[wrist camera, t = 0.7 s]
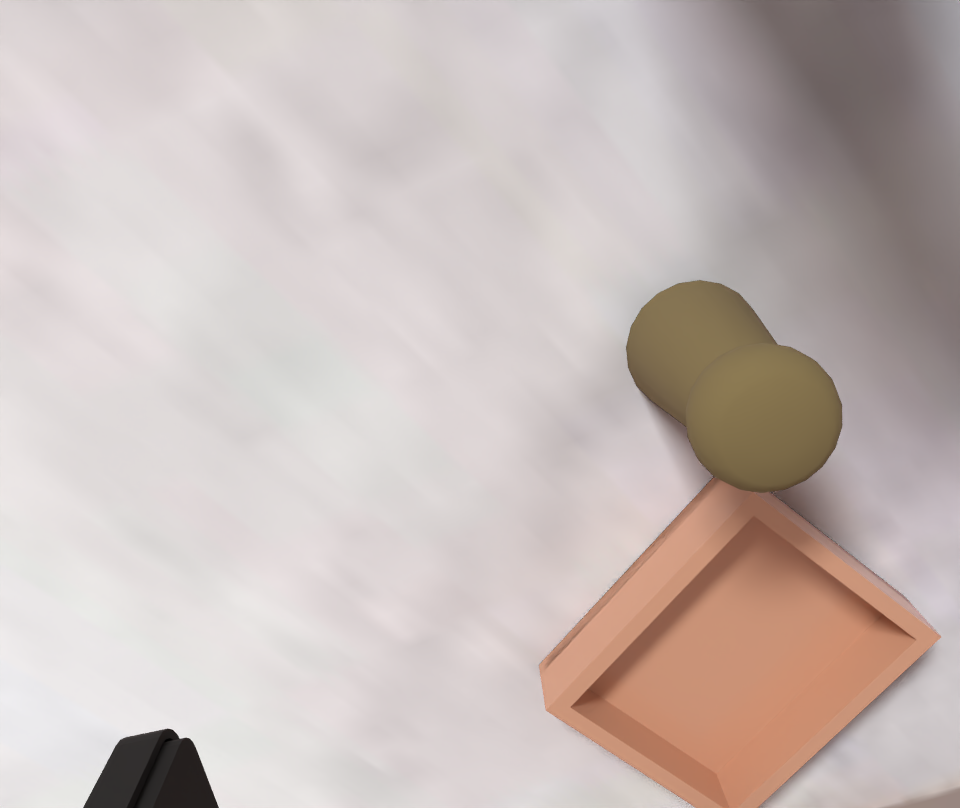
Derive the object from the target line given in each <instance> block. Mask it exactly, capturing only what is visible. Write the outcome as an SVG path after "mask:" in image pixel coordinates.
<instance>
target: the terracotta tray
mask: <svg viewBox="0 0 960 808" xmlns="http://www.w3.org/2000/svg"><path fill="white" fill-rule="evenodd" d="M940 638H941V636H940V635H939V634H938V633H937V632H936V630H935V629H934V628H933V627H932V626H931V625H930V624H929V623H928V622H927V621H926V619H925V618H924V617H923V616H922V615H921V614H920V613H919V612H918V611H917V610H916V608H915V607H914V606H913V605H912V604H911V603H910V602H909V601H908V600H907V599H906V597H905V596H903V595H902V594H901V593H900V592H898V591H897V590H896V589H894V588H893V587H892V586H891V585H889V584H888V583H887V582H885V581H884V580H883V579H881V578H880V577H879V576H878V575H876V574H875V573H874V572H872V571H871V570H870V569H869V568H867V567H866V566H865V565H863V564H862V563H861V562H860V561H858V560H857V559H856V558H854V557H853V556H852V555H851V554H849V553H848V552H847V551H845V550H844V549H843V548H841V547H840V546H839V545H838V544H836V543H835V542H834V541H832V540H831V539H830V538H829V537H827V536H826V535H825V534H823V533H822V532H821V531H820V530H818V529H817V528H816V527H814V526H813V525H812V524H811V523H809V522H808V521H807V520H805V519H804V518H803V517H802V516H800V515H799V514H798V513H796V512H795V511H794V510H792V509H791V508H790V507H789V506H787V505H786V504H785V503H783V502H782V501H781V500H780V499H778V498H777V497H776V496H774V495H773V494H772V493H771V492H766V493H758V492H751V491H745V490H740V489H738V488H736V487H734V486H732V485H730V484H728V483H726V482H723V481H721V480H720V479H718V478H716V477H713V478H712V479H711V481H710V482H709V483H708V484H707V485H706V486H705V487H704V488H703V489H702V490H701V491H700V492H699V493H698V495H697V496H696V497H695V498H694V499H693V500H692V501H691V502H690V503H689V504H688V505H687V506H686V507H685V509H684V510H683V511H682V512H681V513H680V514H679V515H678V516H677V517H676V518H675V519H674V520H673V521H672V522H671V524H670V525H669V526H668V527H667V528H666V529H665V530H664V531H663V532H662V533H661V534H660V535H659V536H658V538H657V539H656V540H655V541H654V542H653V543H652V544H651V545H650V546H649V547H648V548H647V549H646V550H645V552H644V553H643V554H642V555H641V556H640V557H639V558H638V559H637V560H636V561H635V562H634V563H633V564H632V566H631V567H630V568H629V569H628V570H627V571H626V572H625V573H624V574H623V575H622V576H621V577H620V578H619V580H618V581H617V582H616V583H615V584H614V585H613V586H612V587H611V588H610V589H609V590H608V591H607V592H606V594H605V595H604V596H603V597H602V598H601V599H600V600H599V601H598V602H597V603H596V604H595V605H594V606H593V607H592V609H591V610H590V611H589V612H588V613H587V614H586V615H585V616H584V617H583V618H582V619H581V620H580V621H579V623H578V624H577V625H576V626H575V627H574V628H573V629H572V630H571V631H570V632H569V633H568V634H567V635H566V637H565V638H564V639H563V640H562V641H561V642H560V643H559V644H558V645H557V646H556V647H555V648H554V649H553V651H552V652H551V653H550V654H549V655H548V656H547V657H546V658H545V659H544V660H543V661H542V662H541V663H540V665H539V669H540V675H541V682H542V688H543V695H544V701H545V708H546V711H548V712H549V713H551V714H552V715H554V716H555V717H557V718H558V719H560V720H562V721H563V722H565V723H566V724H568V725H569V726H571V727H572V728H574V729H575V730H577V731H579V732H580V733H582V734H583V735H585V736H586V737H588V738H589V739H591V740H592V741H594V742H595V743H597V744H599V745H600V746H602V747H603V748H605V749H606V750H608V751H609V752H611V753H612V754H614V755H616V756H617V757H619V758H620V759H622V760H623V761H625V762H626V763H628V764H629V765H631V766H633V767H634V768H636V769H637V770H639V771H640V772H642V773H643V774H645V775H646V776H648V777H650V778H651V779H653V780H654V781H656V782H657V783H659V784H660V785H662V786H663V787H665V788H666V789H668V790H670V791H671V792H673V793H674V794H676V795H677V796H679V797H680V798H682V799H683V800H685V801H687V802H688V803H690V804H691V805H693V806H694V807H696V808H758V807H759V806H760V805H761V804H762V803H763V802H764V801H765V800H766V799H768V798H769V797H770V796H771V795H772V794H773V793H774V792H775V791H776V790H777V789H778V788H779V787H780V786H781V785H783V784H784V783H785V782H786V781H787V780H788V779H789V778H790V777H791V776H792V775H793V774H794V773H795V772H797V771H798V770H799V769H800V768H801V767H802V766H803V765H804V764H805V763H806V762H807V761H808V760H809V759H811V758H812V757H813V756H814V755H815V754H816V753H817V752H818V751H819V750H820V749H821V748H822V747H823V746H825V745H826V744H827V743H828V742H829V741H830V740H831V739H832V738H833V737H834V736H835V735H836V734H837V733H839V732H840V731H841V730H842V729H843V728H844V727H845V726H846V725H847V724H848V723H849V722H850V721H851V720H853V719H854V718H855V717H856V716H857V715H858V714H859V713H860V712H861V711H862V710H863V709H864V708H865V707H867V706H868V705H869V704H870V703H871V702H872V701H873V700H874V699H875V698H876V697H877V696H878V695H879V694H880V693H882V692H883V691H884V690H885V689H886V688H887V687H888V686H889V685H890V684H891V683H892V682H893V681H894V680H896V679H897V678H898V677H899V676H900V675H901V674H902V673H903V672H904V671H905V670H906V669H907V668H908V667H910V666H911V665H912V664H913V663H914V662H915V661H916V660H917V659H918V658H919V657H920V656H921V655H922V654H924V653H925V652H926V651H927V650H928V649H929V648H930V647H931V646H932V645H933V644H934V643H935V642H936V641H938V640H939V639H940Z"/></svg>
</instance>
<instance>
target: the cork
mask: <svg viewBox="0 0 960 808" xmlns="http://www.w3.org/2000/svg"><path fill="white" fill-rule="evenodd" d="M626 351H627V361H628V368H629V371H630V373H631V375H632V377H633V379H634V381H635V384H636V386H637V387H638V388H639V389H640V390H641V391H642V392H643V393H644V394H645V395H646V396H647V397H648V398H649V399H650V400H651V401H653V402H654V403H655V404H657V405H658V406H659V407H661V408H662V409H663V410H665V411H666V412H667V413H669V414H670V415H671V416H672V417H674V418H675V419H676V420H678V421H679V422H680V423H682V424H683V425H684V426H686V427H687V437H688V439H689V441H690V443H691V446H692V448H693V450H694V452H695V454H696V456H697V458H698V459H699V461H700V462H701V463H702V464H703V466H704V467H705V468H706V469H707V470H708V471H709V472H710V473H711V474H712V475H713V476H714V477H716V478H718V479H720V480H721V481H723V482H726V483H728V484H730V485H732V486H734V487H736V488H738V489H740V490H745V491H751V492H758V493H766V492H772V491H779V490H785V489H787V488H789V487H792V486H794V485H796V484H798V483H801V482H803V481H805V480H807V479H808V478H809V477H811V476H812V475H813V474H814V473H815V472H817V471H818V470H819V469H820V468H821V467H822V466H823V465H824V464H825V462H826V461H827V459H828V458H829V456H830V455H831V453H832V452H833V451H834V449H835V447H836V444H837V441H838V438H839V435H840V432H841V429H842V404H841V401H840V399H839V396H838V393H837V391H836V388H835V385H834V383H833V381H832V379H831V377H830V376H829V375H828V374H827V373H826V372H825V371H824V369H823V368H822V367H821V366H820V365H819V364H818V363H817V362H816V361H815V360H813V359H812V358H810V357H808V356H806V355H805V354H803V353H801V352H799V351H797V350H795V349H793V348H791V347H787V346H781V345H778V344H777V343H776V342H775V340H774V339H773V337H772V336H771V334H770V333H769V332H768V330H767V329H766V327H765V326H764V324H763V323H762V322H761V320H760V319H759V317H758V316H757V314H756V313H755V312H754V310H753V309H752V308H751V306H750V305H749V304H748V303H747V302H746V301H745V300H744V299H743V297H742V296H741V295H740V294H739V293H737V292H735V291H733V290H731V289H730V288H728V287H726V286H724V285H722V284H719V283H713V282H707V281H701V280H698V281H692V282H685V283H679V284H676V285H674V286H672V287H670V288H668V289H666V290H664V291H662V292H660V293H658V294H657V295H656V296H655V297H654V298H652V299H651V300H650V301H649V302H648V303H647V304H646V305H645V306H644V307H643V308H642V309H641V311H640V312H639V314H638V316H637V317H636V319H635V321H634V323H633V324H632V326H631V329H630V333H629V337H628V342H627V346H626Z"/></svg>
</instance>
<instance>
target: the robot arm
mask: <svg viewBox="0 0 960 808" xmlns="http://www.w3.org/2000/svg"><path fill="white" fill-rule="evenodd" d="M83 808H219V807H218V805H217V802H216V799H215V797H214V794H213V792H212V789H211V786H210V784H209V781H208V778H207V776H206V773H205V771H204V768H203V765H202V763H201V760H200V758H199V755H198V752H197V750H196V747H195V745H194V743H193V742H192V741H191V740H190V739H189V738H182V739H179V737H178V735H177V734H176V733H175V732H174V731H173V730H171V729H164V730H159V731H154V732H150V733H145V734H140V735H135V736H130V737H125V738H123V739H121V740H120V741H119V742H118V744H117V745H116V746H115V748H114V750H113V752H112V754H111V756H110V758H109V760H108V762H107V764H106V765H105V767H104V769H103V771H102V773H101V775H100V777H99V779H98V781H97V783H96V784H95V786H94V788H93V790H92V792H91V794H90V796H89V798H88V800H87V801H86V803H85V805H84V807H83Z"/></svg>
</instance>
